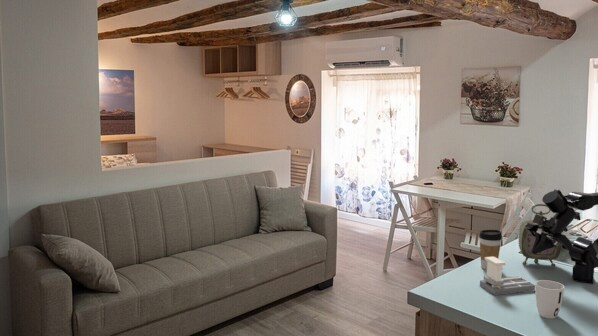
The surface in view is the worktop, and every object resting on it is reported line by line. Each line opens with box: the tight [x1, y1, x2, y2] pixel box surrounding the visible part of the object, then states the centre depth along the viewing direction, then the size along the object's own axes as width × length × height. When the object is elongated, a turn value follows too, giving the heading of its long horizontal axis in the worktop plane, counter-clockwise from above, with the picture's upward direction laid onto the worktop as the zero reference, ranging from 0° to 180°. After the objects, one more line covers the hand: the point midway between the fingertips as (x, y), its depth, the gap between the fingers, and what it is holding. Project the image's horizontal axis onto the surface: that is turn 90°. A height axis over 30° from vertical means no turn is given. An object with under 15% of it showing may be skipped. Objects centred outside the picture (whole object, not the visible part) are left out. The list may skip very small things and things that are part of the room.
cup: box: [534, 279, 565, 319], centre depth 164 cm, size 8×8×10 cm
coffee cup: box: [478, 229, 503, 271], centre depth 207 cm, size 8×8×15 cm
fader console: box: [479, 276, 536, 296], centre depth 186 cm, size 16×9×3 cm, turn 104°
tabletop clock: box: [518, 203, 562, 268], centre depth 209 cm, size 14×9×25 cm, turn 77°
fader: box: [483, 256, 506, 285], centre depth 184 cm, size 4×7×8 cm, turn 14°
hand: (532, 253), depth 187 cm, fingers closed
